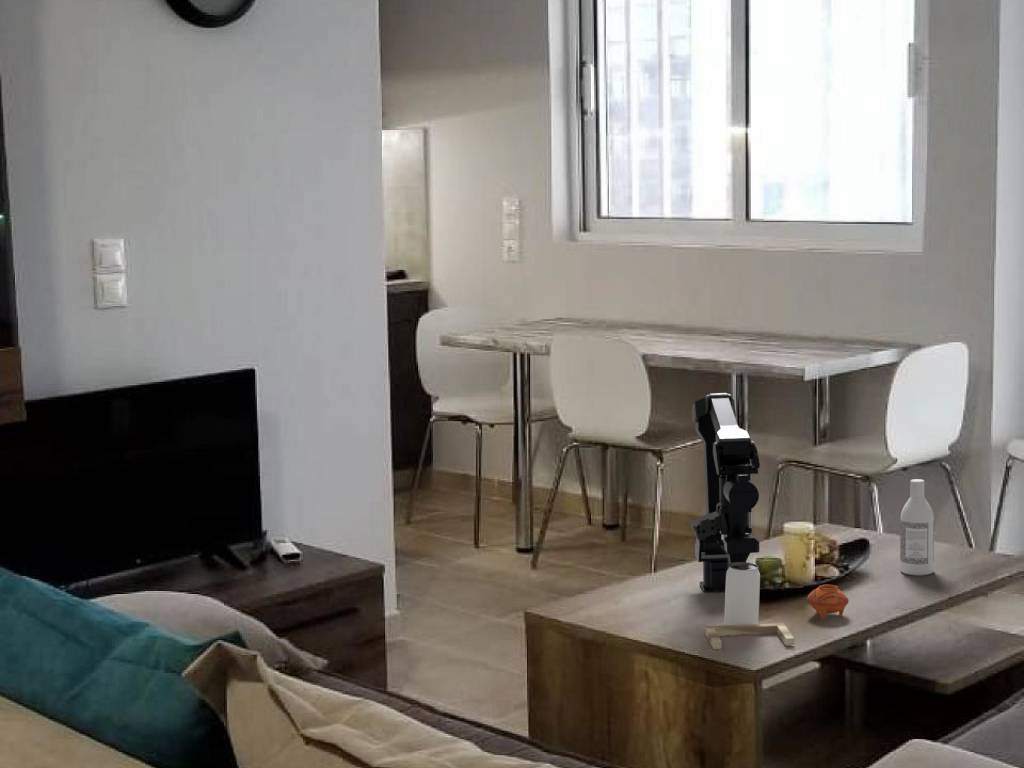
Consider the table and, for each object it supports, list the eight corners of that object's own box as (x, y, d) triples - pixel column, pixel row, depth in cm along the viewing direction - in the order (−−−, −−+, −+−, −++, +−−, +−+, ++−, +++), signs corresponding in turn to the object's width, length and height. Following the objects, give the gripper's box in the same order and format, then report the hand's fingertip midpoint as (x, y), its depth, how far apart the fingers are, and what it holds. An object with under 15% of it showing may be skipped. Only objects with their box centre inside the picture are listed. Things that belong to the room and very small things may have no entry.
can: (731, 632, 310) (733, 571, 308) (719, 622, 316) (721, 562, 314) (763, 630, 311) (765, 569, 309) (750, 620, 318) (753, 560, 316)
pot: (796, 614, 320) (801, 580, 320) (824, 616, 324) (829, 582, 324) (825, 622, 313) (830, 587, 313) (853, 624, 318) (859, 589, 318)
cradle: (705, 634, 310) (705, 626, 310) (783, 630, 311) (783, 623, 310) (713, 649, 301) (713, 641, 300) (794, 646, 301) (794, 638, 301)
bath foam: (912, 566, 354) (912, 475, 351) (940, 571, 349) (940, 479, 346) (893, 572, 349) (894, 480, 346) (921, 578, 344) (922, 485, 341)
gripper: (686, 491, 325) (687, 568, 327) (700, 512, 306) (702, 592, 308) (741, 489, 325) (742, 565, 327) (759, 509, 307) (760, 590, 309)
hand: (735, 578), depth 318 cm, fingers closed
